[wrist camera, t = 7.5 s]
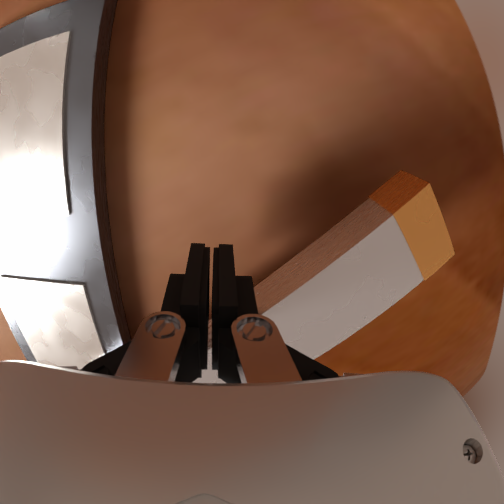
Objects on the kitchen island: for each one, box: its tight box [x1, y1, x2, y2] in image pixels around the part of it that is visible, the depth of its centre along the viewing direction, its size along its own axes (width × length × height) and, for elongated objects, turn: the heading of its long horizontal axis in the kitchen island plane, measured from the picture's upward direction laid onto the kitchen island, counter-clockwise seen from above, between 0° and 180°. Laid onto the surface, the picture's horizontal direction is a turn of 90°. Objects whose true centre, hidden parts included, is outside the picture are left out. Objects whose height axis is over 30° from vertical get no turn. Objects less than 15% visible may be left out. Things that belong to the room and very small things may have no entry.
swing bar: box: [192, 170, 455, 383], centre depth 15 cm, size 30×4×5 cm, turn 130°
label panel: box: [0, 0, 131, 369], centre depth 14 cm, size 32×10×2 cm, turn 175°
